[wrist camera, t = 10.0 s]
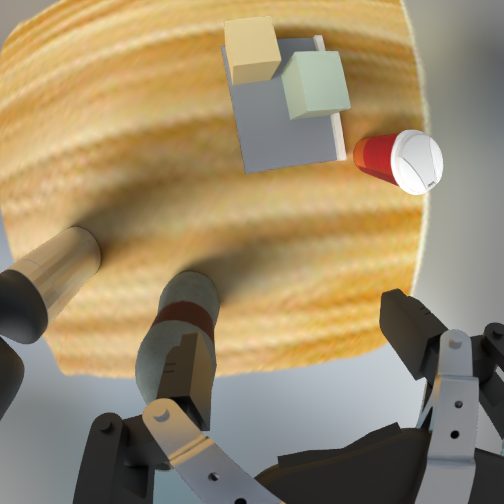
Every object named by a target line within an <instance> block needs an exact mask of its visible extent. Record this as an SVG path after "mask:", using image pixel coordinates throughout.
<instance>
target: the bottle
mask: <svg viewBox="0 0 504 504" xmlns="http://www.w3.org/2000/svg"><path fill="white" fill-rule="evenodd" d="M219 308H220V307H219V300H218V294H217V290H216V288H215V286H214V285H213V283H212V281H211V280H210V279H209V278H208V277H207V276H205V275H203V274H201V273H199V272H194V271H187V272H182V273H180V274H178V275H176V276H175V277H174V278H172V279H171V280H170V281H169V282H168V284H167V285H166V287H165V288H164V290H163V292H162V294H161V296H160V301H159V307H158V314H157V316H156V318H155V320H154V322H153V324H152V326H151V328H150V329H149V331H148V333H147V334H146V336H145V338H144V339H143V341H142V343H141V345H140V348H139V350H138V355H137V360H136V365H135V376H136V384H137V386H138V388H139V390H140V392H141V395H142V397H143V399H144V401H145V403H146V405H148V404H149V403H151V402H152V401H155V400H156V397H157V392H158V388H159V384H160V380H161V376H162V373H163V368H164V366H165V360H166V356H167V354H168V353H169V351H170V350H171V349H172V348H173V347H175V346H180V342H181V338H182V335H183V334H185V333H192V332H199V331H200V332H201V334H202V336H203V339H204V342H205V344H206V347H207V350H208V352H209V355H210V358H211V362H212V370H213V371H212V386H213V381H214V376H215V371H216V366H217V364H216V356H215V342H214V328H215V325H216V322H217V318H218V314H219ZM173 469H174V468H173V466H172V465H171V464H170V462H169V461H166V462H163V463H159V464H155V470H157V471H162V472H169V471H172V470H173Z"/></svg>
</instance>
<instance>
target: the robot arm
mask: <svg viewBox="0 0 504 504" xmlns="http://www.w3.org/2000/svg"><path fill="white" fill-rule="evenodd" d="M100 264H101V252H100V248H99V245H98V243H97V241H96V240H95V238H94V237H93V236H92V235H91V233H89V232H88V231H87V230H85V229H83V228H80V227H71V228H68V229H66V230H65V231H63V232H61V233H60V234H58V235H56V236H55V237H53V238H52V239H50V240H48V241H47V242H45V243H44V244H42V245H41V246H39V247H38V248H36V249H34V250H33V251H31V252H30V253H29V254H27V255H26V256H24V257H23V258H21V259H20V260H18V261H17V262H16V263H14V264H13V265H12V266H10V267H9V268H7V269H6V270H5V271H4V272H2V273H1V274H0V335H3V336H5V337H7V338H10V339H12V340H14V341H16V342H18V343H22V344H31V343H34V342H35V341H37V340H38V339H39V338H40V337H41V335H42V334H43V333H44V332H45V330H46V329H47V328H48V327H49V325H50V324H51V323H52V322H53V321H54V319H55V318H56V317H57V316H58V314H59V313H60V312H61V311H62V310H63V308H64V307H65V306H66V305H67V304H68V303H69V302H70V300H71V299H72V298H73V297H74V296H75V295H76V294H77V292H78V291H79V290H80V289H81V288H82V287H83V286H84V285H85V284H86V283H87V282H88V281H89V279H90V278H91V277H92V276H93V275H94V274H95V273H96V272H97V270H98V269H99V267H100ZM379 323H380V328H381V331H382V333H383V334H384V336H385V337H386V339H387V340H388V341H389V343H390V344H391V345H392V347H393V348H394V350H395V351H396V352H397V354H398V356H399V357H400V358H401V360H402V361H403V363H404V364H405V366H406V367H407V369H408V370H409V372H410V373H411V374H412V376H413V377H414V379H415V380H418V379H421V378H423V377H425V378H426V379H427V381H426V384H425V389H424V395H423V400H422V405H421V410H420V415H419V419H418V422H417V425H416V427H415V428H402V429H400V427H399V425H398V423H397V422H396V423H393V424H391V425H388V426H386V427H383V428H381V429H378V430H375V431H373V432H370V433H368V434H367V435H365V436H364V437H362V438H360V439H359V440H357V441H355V442H353V443H352V444H350V445H348V446H346V447H344V448H341V449H329V450H308V451H303V452H299V453H294V454H289V455H283V456H278V463H279V464H276V465H274V466H271V467H269V468H268V469H266V470H264V471H262V472H261V473H260V474H258V475H257V476H256V477H254V478H252V477H251V476H250V475H249V474H248V473H246V472H245V471H244V470H243V469H242V468H241V467H240V466H239V465H238V464H237V463H235V462H234V461H233V460H232V459H231V458H230V457H229V456H228V455H227V454H226V453H225V452H224V451H223V450H222V449H221V448H220V447H218V445H217V444H216V443H215V442H214V441H213V440H211V439H210V438H209V437H206V436H205V435H204V434H203V433H202V432H201V431H210V414H211V390H212V371H213V370H212V362H211V358H210V355H209V352H208V350H207V347H206V344H205V342H204V339H203V336H202V334H201V332H200V331H199V332H192V333H185V334H183V335H182V338H181V342H180V346H175V347H173V348H172V349H171V350H170V351H169V353H168V354H167V356H166V360H165V366H164V368H163V373H162V376H161V380H160V384H159V388H158V392H157V397H156V400H155V401H152V402H151V403H149V404H148V405H147V406H146V407H145V409H144V411H143V414H142V415H139V416H135V417H131V418H128V419H124V420H122V419H121V417H120V416H118V415H117V414H115V413H104V414H102V415H100V416H98V417H97V418H96V419H95V420H94V422H93V423H92V426H91V429H90V433H89V436H88V440H87V443H86V447H85V451H84V455H83V458H82V462H81V466H80V470H79V475H78V479H77V484H76V489H75V493H74V499H73V504H153V490H154V474H155V464H159V463H163V462H166V461H169V462H170V464H171V465H172V466H173V468H174V469H175V470H176V472H177V473H178V474H179V475H180V477H181V478H182V479H183V480H184V482H185V483H186V484H187V485H188V486H189V488H190V489H191V490H192V491H193V492H194V494H195V495H196V496H197V497H198V498H199V499H200V500H201V501H202V503H203V504H504V382H503V381H502V379H501V378H500V377H499V375H498V374H497V373H496V372H495V371H496V369H497V367H498V366H499V367H500V368H501V369H502V371H503V372H504V325H503V324H500V323H490V324H488V325H487V326H486V327H485V330H484V333H483V335H478V336H473V337H469V336H468V335H467V334H466V333H465V332H463V331H460V330H455V329H453V330H448V328H447V327H445V326H444V324H443V323H442V322H441V321H440V320H439V319H438V318H437V317H436V316H435V315H434V314H433V313H431V312H430V310H428V309H427V308H426V307H425V306H424V305H423V304H422V303H421V302H420V301H419V300H417V299H415V298H413V297H411V296H408V297H407V296H406V295H405V294H404V293H403V292H402V291H401V290H400V289H398V288H397V289H394V290H390V291H387V292H383V293H382V296H381V308H380V319H379ZM23 377H24V364H23V361H22V360H21V358H20V357H19V356H18V355H17V353H16V352H15V351H14V350H13V349H12V348H11V347H10V346H9V345H8V344H7V343H6V342H5V341H4V340H3V339H2V338H1V337H0V420H1V419H2V417H3V415H4V414H5V412H6V410H7V409H8V407H9V406H10V404H11V403H12V401H13V399H14V398H15V396H16V394H17V392H18V390H19V388H20V386H21V383H22V380H23ZM479 402H480V404H481V405H482V407H483V408H484V410H485V412H486V413H487V415H488V416H489V418H490V420H491V421H492V423H493V425H494V426H495V428H496V430H497V432H498V433H499V435H500V437H501V439H502V440H503V442H502V451H501V452H500V455H498V454H494V453H491V452H488V451H485V450H481V449H478V448H475V442H476V433H477V422H478V403H479Z"/></svg>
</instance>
